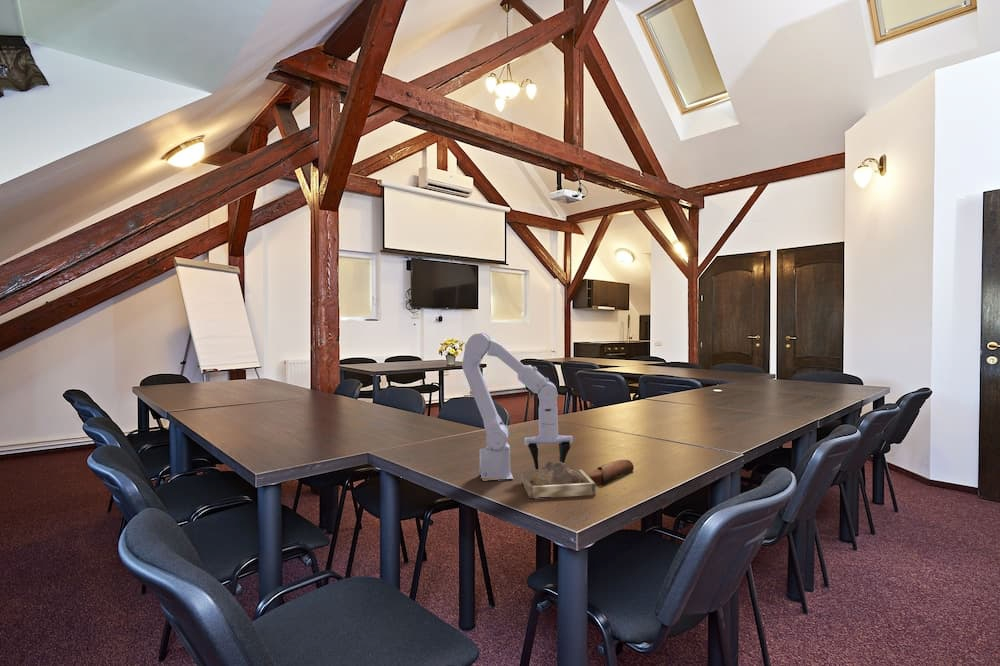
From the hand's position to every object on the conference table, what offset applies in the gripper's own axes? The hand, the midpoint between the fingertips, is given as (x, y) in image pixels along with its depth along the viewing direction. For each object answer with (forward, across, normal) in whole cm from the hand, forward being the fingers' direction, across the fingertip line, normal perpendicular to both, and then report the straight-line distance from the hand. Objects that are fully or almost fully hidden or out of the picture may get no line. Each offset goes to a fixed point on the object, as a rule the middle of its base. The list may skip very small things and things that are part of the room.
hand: (549, 467), depth 146 cm
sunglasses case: (+4, -18, +1) cm, 18 cm away
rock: (+3, -1, +8) cm, 9 cm away
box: (+3, 0, +10) cm, 11 cm away
